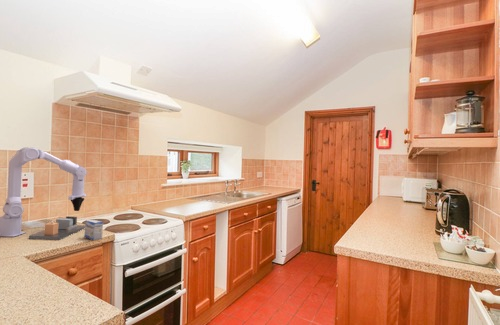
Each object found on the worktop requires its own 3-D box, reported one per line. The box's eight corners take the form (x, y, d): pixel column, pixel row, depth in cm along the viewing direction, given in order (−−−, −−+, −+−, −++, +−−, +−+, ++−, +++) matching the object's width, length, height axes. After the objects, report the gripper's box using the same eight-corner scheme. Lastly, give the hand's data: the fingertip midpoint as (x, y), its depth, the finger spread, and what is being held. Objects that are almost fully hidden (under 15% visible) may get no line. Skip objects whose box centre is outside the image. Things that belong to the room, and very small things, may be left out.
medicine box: (83, 237, 138) (85, 220, 138) (92, 235, 142) (93, 219, 142) (93, 240, 135) (94, 222, 135) (102, 238, 139) (103, 221, 139)
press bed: (28, 238, 131) (29, 231, 131) (60, 227, 156) (61, 220, 156) (59, 240, 132) (59, 232, 132) (86, 228, 157) (86, 222, 157)
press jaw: (55, 228, 145) (56, 219, 145) (65, 225, 154) (65, 216, 154) (69, 229, 146) (69, 220, 146) (78, 225, 154) (78, 216, 154)
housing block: (44, 234, 135) (45, 222, 135) (49, 232, 139) (50, 220, 139) (52, 234, 135) (53, 222, 135) (58, 232, 139) (58, 220, 139)
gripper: (78, 188, 152) (76, 213, 151) (91, 186, 166) (90, 209, 166) (65, 188, 151) (63, 212, 151) (79, 185, 166) (78, 208, 165)
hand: (76, 210), depth 158 cm, fingers closed
